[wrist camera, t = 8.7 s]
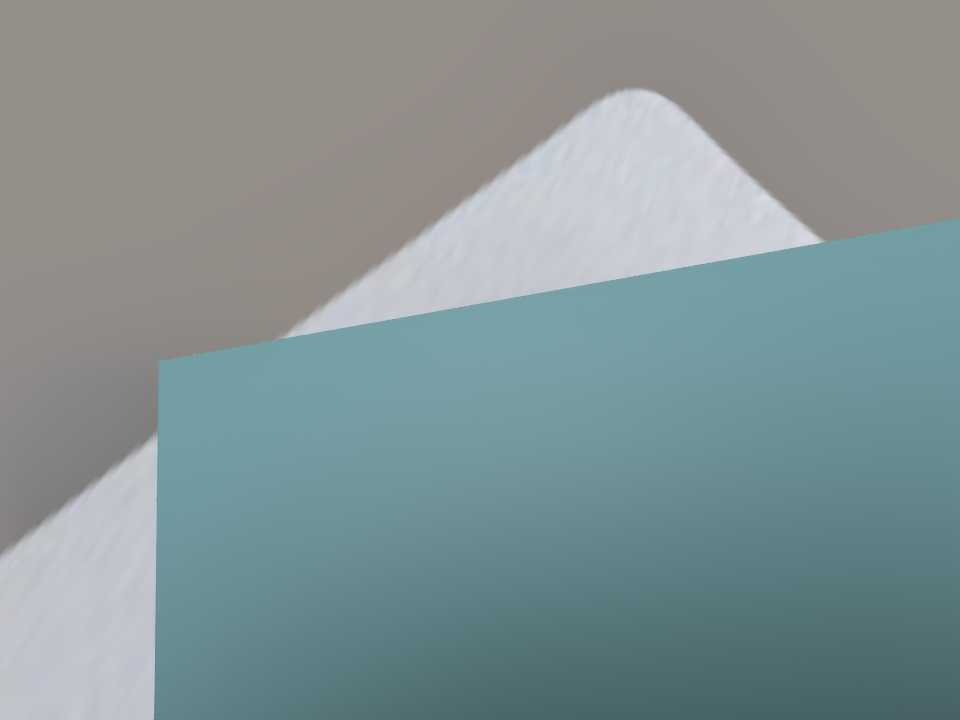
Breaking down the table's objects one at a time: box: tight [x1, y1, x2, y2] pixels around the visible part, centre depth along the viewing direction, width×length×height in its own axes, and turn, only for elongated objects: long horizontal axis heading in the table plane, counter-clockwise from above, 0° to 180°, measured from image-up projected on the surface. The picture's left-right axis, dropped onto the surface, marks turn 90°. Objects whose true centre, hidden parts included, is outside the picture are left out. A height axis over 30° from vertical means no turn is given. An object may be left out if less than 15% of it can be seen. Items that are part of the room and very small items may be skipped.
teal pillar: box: [154, 219, 960, 720], centre depth 9 cm, size 5×5×13 cm
